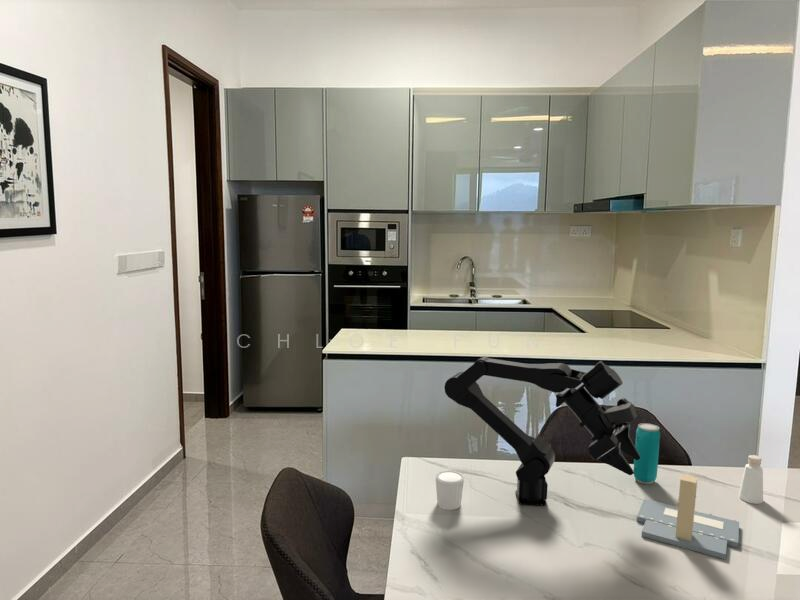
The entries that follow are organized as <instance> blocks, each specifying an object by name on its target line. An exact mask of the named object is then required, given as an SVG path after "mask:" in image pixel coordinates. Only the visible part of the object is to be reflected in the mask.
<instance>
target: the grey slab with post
mask: <svg viewBox="0 0 800 600" xmlns="http://www.w3.org/2000/svg"><path fill="white" fill-rule="evenodd" d="M697 485H698V477H696V476H691V475H686V474H681V476H680V480H679V493H678V504H677V507H678V513H677V525H676V527H674V526H670V525H666V524H662V523H658V522H655V521H651V520H647V519H646V521H645V523H643V527H642V529H641V537H644V538H648V539H651V540H654V541H658V542H662V543H666V544H668V545H671V546H672V545H673V546H676V547H680V548H684V549H686V550H690V551H694V552H698V553H701V554H706V555H708V556H712V557H715V558H720V559H723V560H726V557H727V549H728V548H727V547H728V545H727V540H723V539H719V538H716V537H712V536H708V535H704V534H700V533H697V532H693V522H694V511H696V510H695V509H696V500H697V499H696V498H697V488H698V487H697Z"/></svg>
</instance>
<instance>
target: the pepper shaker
mask: <svg viewBox="0 0 800 600" xmlns="http://www.w3.org/2000/svg"><path fill="white" fill-rule="evenodd" d="M747 458H748V460H747V461H748V463H746V464H745V465H744V470H743V472H742V473H743V474H742V478H741V481H740V487H739V489H738V490H739V491H738V498H739V499H740V500H742V501H744V502H746V503H748V504H755V505H759V504H762V503H764V470H763V468H762V466H761V465H762V457H760V456H759V455H756V454H749V455H748V457H747Z"/></svg>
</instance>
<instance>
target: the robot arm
mask: <svg viewBox="0 0 800 600" xmlns="http://www.w3.org/2000/svg"><path fill="white" fill-rule="evenodd" d="M483 376H487V377H493V378H499V379H506V380H512V381H518V382H519V381H520V382H524V383H528V384H529V383H530V384H532V385H535V386H537V387H538V388H540V389H544V390H546V391H550V392H552V393H555V398H556V399H555V408H556V407H557V408H559V407H560V406H562V405H563V404H565V405H566V406H567V408H568V409H570V410H571V412H572V413H573V414H574V415H575V417H576V418H577V419H578V420H579V423H578V425H579V426H580V427H581V428H583V427H585V429H586V430H587V431H588V432H589V433H590V435H591V436H592V437H591V438H590V439H591V440H592V442H590V444H589V446H588V447H587V454H588V456H589V457H590V458H591V459H592V460H593V461H595V460H596V461H597V462H601V463H604V464H606V465H608V466H611V467H613V468H615V469H616V470H618V471H620V472H623V473H624V474H626V475H629V476H632V475H634V471H633V470H634V469H633V468H632V466H631V465H630V463H629V461H628V460H627V459H626V458H625V456H624V454H623V453H625V454H626V455H628V456H629V457H631V458H633V460H634V459H635V460H639V459H640V455H639V453H638V451H637V449H636V447H635V444H634V442H633V439H632V438H631V435H630V430H631V429H630V428H631V423H632V422H634V421H636V417H638V415H637V413H636V410H635V407H636V406H635V405H634V404H633V403H632V401H629V400H628V399H627V398H625V397H623V398H619V399H618V400H617V402H616V405H614V406H612V407H610V408H608V406H606V404H599V403H598V402H597V401H596V399H600V400H601V399H602V400H603V399H605V398H606V397H608V395H610V394H611V393H613V392H614V391H615V390H617V389H618V388H619V387H621V386H622V385H623V380H622V378H621V377H620V375H619V374H618V372H617V371H616V370H615V369H614V368H611V367H610V366H609V365H607V364H605V363H604V362H603V361H602V360H600V361H599V362H597V363H596V364H595V365H594V366H593V367H592V368H591V369H590V370H589V371H587V372H584V371H581V370H577V369H573V368H571V367H570V366H569V365H568V364H566V363H564V362H563V363H562V362H557V363H556V362H553V363H552V362H551V363H550V362H549V363H539V364H530V363H525V362H524V363H523V362H516V361H510V360H504V359H495V358H490V357H488V356H482V357H480V358H478V359H477V360H476V361H475V362H474V363H473V364H472V365H471V366H470V367H468V368H467V369H466V370H465V371H460V372H457V373H455V374H454V375H453V376H451V377H449V378H448V379H447V380H446V381H445V384H444V393H445V395H446V396H447V397H448V398H449V399H451V400H452V401H454V402H455V403H456V404H458V405H459V406H462V407H465V408H468V409H470V410H471V411H472V412H473V413H475V415H477V416H478V417H479V418H480V419H481V420H483V422H484V423H486V425H487V426H489V427H490V428H491V429H492V430H493V431H494V432H495V433H496V434H497V435H499V436H500V438H502V439H503V440H504V441H505V442H506V443H507V444H508V445H509V446H510V447H512V449H514V451H515V453H516V455H517V457H518V459H519V461H520V463H521V464H520V465H519V466H518V467H517V470H516V471H515V475H516V477H517V479H516V480H517V481H516V482H517V483H516V486H517V487H516V490H515V497H516V499H517V502H518V505H520V506H521V505H524V506H525V505H526V506H547V502H546V500H548V482H547V480H546V475H547V474H548V473H549V471H550V470H551V468H552V466H553V464H554V462H555V460H556V453H555V451H554V450H553V448H552V444H551V443H548V442H547V441H546V440H545V439H544V438H543V437H542V435H540V434H537V435H536V436H535V437H533V436H531V435H528V434H527V433H526V432H524V430H522V429H521V428H520V427H519V426H518V425H517V424H516V423H514V422H513V421H512V420H511V418H509V417H508V416H507V415H506V414H505V413H503V412H502V410H500V409H499V408H498V407H497V406H496V405H495V404H494V403H493V402H491V401H490V400H489V398H487V396H485V395H484V394H483V391H482V389H481V387H480V385H479V384H478V382H477V381H478V380H480V379H481V378H482V377H483ZM564 391H565V392H564ZM563 392H564V393H563ZM622 452H623V453H622Z"/></svg>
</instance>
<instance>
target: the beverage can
mask: <svg viewBox="0 0 800 600" xmlns="http://www.w3.org/2000/svg"><path fill="white" fill-rule="evenodd" d="M660 440H661V432H660V427H659V426H658V425H657V424H653V423H650V422H649V423H647V422H642V423H641V422H640V423H639V424H638V425H637V428H636V433H635V444H634V445H635V447H636V449H637V451H638V453H639V455H640V459H639V460H635V459H634V458H633V469H632V470H633V471H634V474H633V476H634V479H635V481H636V482H638V483H639V484H642V485H653V484H654V483H655V481H656V479H657V477H658V468H659V467H658V466H659V452H660V442H661V441H660Z"/></svg>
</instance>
